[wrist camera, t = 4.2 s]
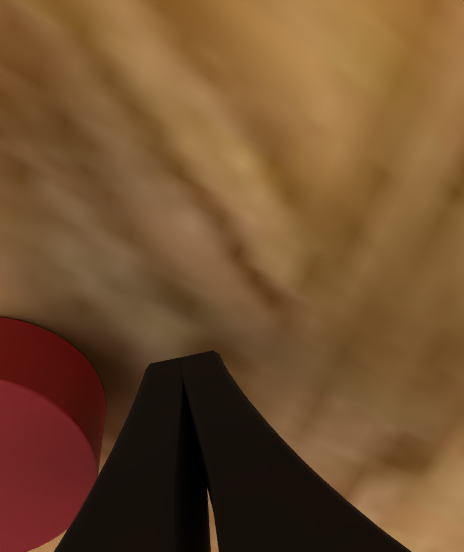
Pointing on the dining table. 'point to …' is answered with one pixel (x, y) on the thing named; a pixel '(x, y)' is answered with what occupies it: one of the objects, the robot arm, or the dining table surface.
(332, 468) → the dining table surface
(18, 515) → the spoon
